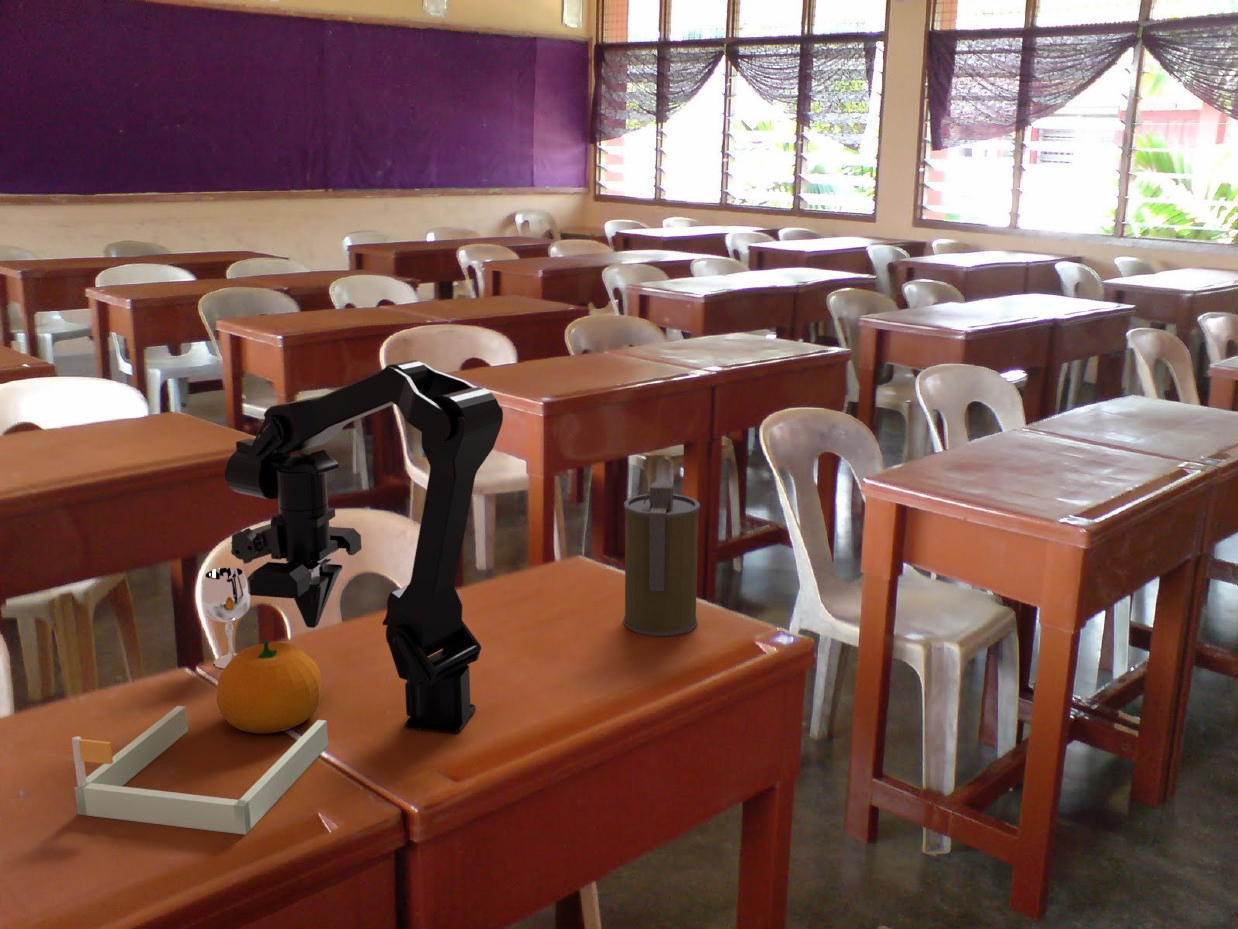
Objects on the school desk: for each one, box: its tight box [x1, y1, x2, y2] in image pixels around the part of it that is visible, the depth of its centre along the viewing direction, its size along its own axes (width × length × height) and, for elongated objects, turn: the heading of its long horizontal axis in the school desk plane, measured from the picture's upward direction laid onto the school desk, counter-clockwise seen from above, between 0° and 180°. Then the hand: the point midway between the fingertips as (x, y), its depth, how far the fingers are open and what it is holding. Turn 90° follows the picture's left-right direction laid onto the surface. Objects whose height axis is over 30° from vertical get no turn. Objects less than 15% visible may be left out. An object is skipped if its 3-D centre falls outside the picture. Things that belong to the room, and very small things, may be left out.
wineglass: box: [201, 566, 251, 669], centre depth 148 cm, size 6×6×12 cm
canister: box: [622, 480, 701, 637], centre depth 160 cm, size 11×10×20 cm
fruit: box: [216, 640, 324, 734], centre depth 132 cm, size 12×12×10 cm
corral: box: [71, 705, 329, 836], centre depth 120 cm, size 18×18×8 cm
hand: (312, 626), depth 142 cm, fingers closed
